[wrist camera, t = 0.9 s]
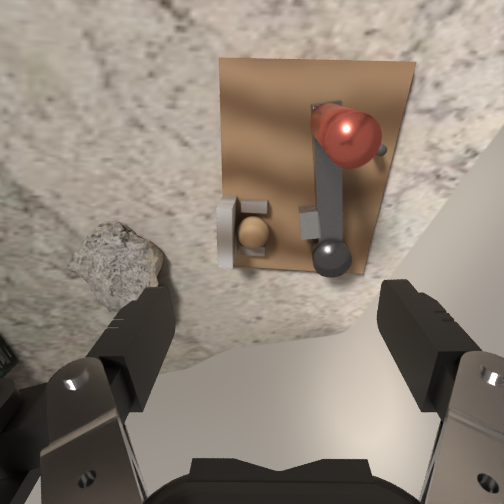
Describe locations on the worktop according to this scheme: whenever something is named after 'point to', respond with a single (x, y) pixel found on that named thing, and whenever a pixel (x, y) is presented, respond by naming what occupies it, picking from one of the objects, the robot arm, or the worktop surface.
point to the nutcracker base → (299, 152)
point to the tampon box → (6, 359)
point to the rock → (117, 264)
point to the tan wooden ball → (252, 232)
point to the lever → (334, 179)
